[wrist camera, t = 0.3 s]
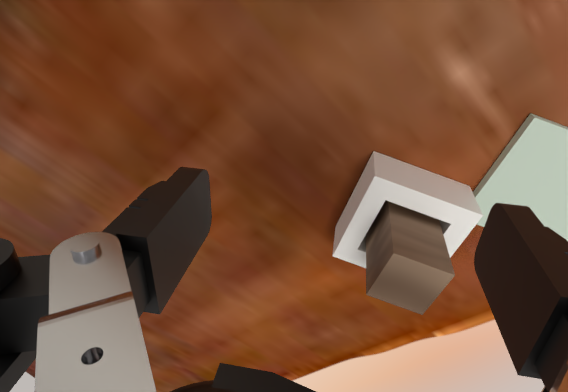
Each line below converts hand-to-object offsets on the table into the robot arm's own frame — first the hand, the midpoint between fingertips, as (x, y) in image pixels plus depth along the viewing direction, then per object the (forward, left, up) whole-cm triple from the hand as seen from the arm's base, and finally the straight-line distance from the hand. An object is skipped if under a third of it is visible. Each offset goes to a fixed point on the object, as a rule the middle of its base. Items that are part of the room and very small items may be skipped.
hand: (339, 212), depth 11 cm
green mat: (+3, +17, -18) cm, 25 cm away
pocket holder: (+9, +8, -18) cm, 22 cm away
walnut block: (+9, +8, -18) cm, 22 cm away
